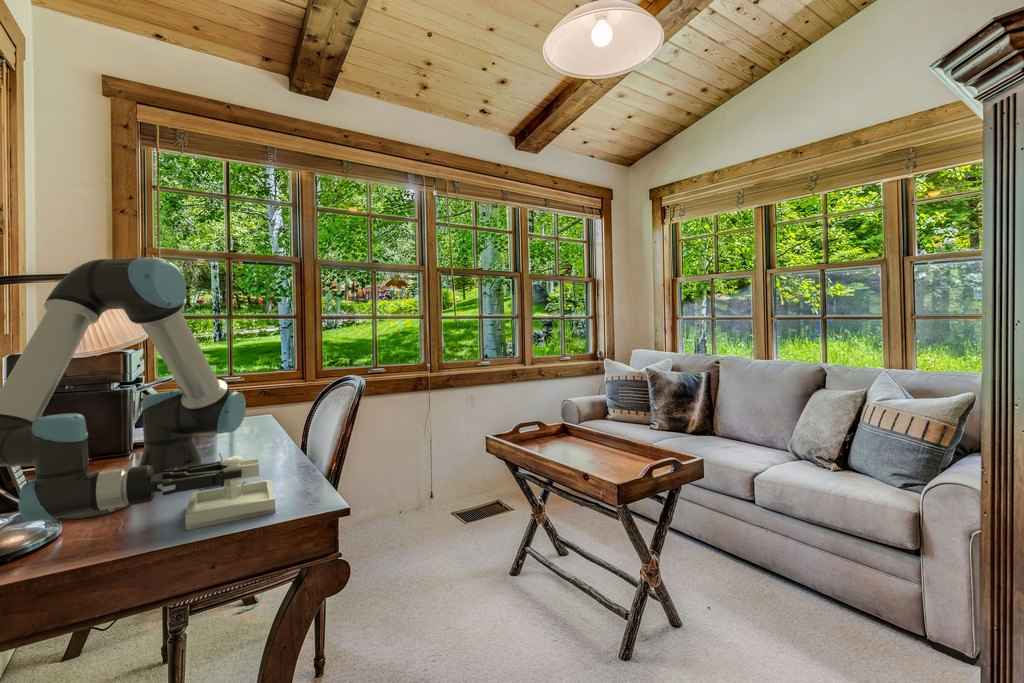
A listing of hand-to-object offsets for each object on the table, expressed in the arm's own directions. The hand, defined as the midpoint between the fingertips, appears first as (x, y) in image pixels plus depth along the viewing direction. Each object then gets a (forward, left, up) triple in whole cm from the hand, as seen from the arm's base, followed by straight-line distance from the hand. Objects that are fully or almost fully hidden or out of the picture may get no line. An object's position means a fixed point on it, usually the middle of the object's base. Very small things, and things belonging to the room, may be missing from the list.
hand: (258, 466), depth 108 cm
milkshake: (0, -5, -6) cm, 8 cm away
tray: (0, -5, -8) cm, 10 cm away
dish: (-19, -32, -9) cm, 39 cm away
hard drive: (-19, -8, -9) cm, 23 cm away
